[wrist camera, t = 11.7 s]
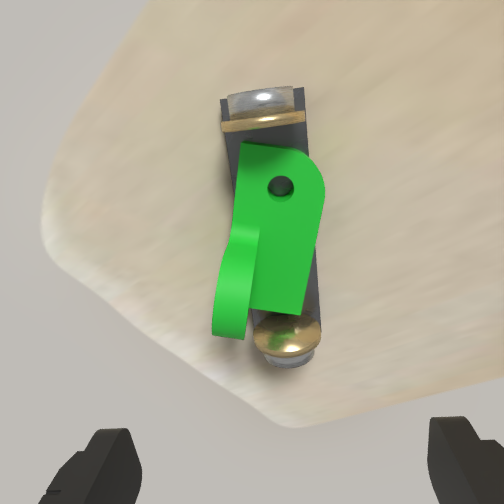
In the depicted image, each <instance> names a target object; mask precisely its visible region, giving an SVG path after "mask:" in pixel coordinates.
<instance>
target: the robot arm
mask: <svg viewBox="0 0 504 504" xmlns="http://www.w3.org/2000/svg"><path fill="white" fill-rule="evenodd" d="M427 462H428V470H429V475H430V479H431V483H432V486H433V489H434V491H435V493H436V496H437V499H438V501H439V503H440V504H504V448H503V447H502V446H501V445H500V444H499V443H498V442H497V441H495V440H480V439H479V437H478V435H477V434H476V432H475V430H474V429H473V427H472V425H471V424H470V422H469V421H468V420H467V419H466V418H465V417H464V416H459V417H458V416H457V417H433V418H431V419H430V426H429V442H428V457H427ZM141 481H142V468H141V464H140V461H139V458H138V455H137V452H136V449H135V446H134V443H133V440H132V438H131V435H130V432H129V430H128V429H126V428H118V429H100V430H98V431H96V432H95V434H94V435H93V437H92V438H91V440H90V442H89V444H88V446H87V447H86V449H85V451H77V452H76V454H74V455H73V456H72V457H71V458H70V459H69V460H68V461H67V462H66V463H65V464H64V465H63V466H62V467H61V468H60V469H59V471H58V473H57V474H56V476H55V477H54V479H53V481H52V482H51V484H50V485H49V487H48V489H47V490H46V494H45V495H43V497H42V498H41V500H40V502H39V503H38V504H135V502H136V499H137V496H138V494H139V491H140V487H141Z"/></svg>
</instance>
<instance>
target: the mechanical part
mask: <svg viewBox="0 0 504 504" xmlns="http://www.w3.org/2000/svg"><path fill="white" fill-rule="evenodd" d="M276 176H286V177H288V178H289V179H290V180H291V181H292V182H293V187H292V189H291V191H290V192H289V193H288V194H286V195H284V196H277V195H275V194H273V193H272V192H271V191H270V189H269V187H268V184H269V182H270V180H271V179H273V178H274V177H276ZM324 199H325V186H324V181H323V178H322V175H321V173H320V171H319V170H318V168H317V167H316V165H315V164H314V162H313V161H312V160H311V159H310V158H309V157H308V156H307V155H306V154H304V153H303V152H301V151H299V150H297V149H295V148H292V147H287V146H280V145H272V144H265V143H258V142H251V141H242V142H241V145H240V154H239V163H238V173H237V182H236V191H235V200H234V209H233V218H232V227H231V233H230V238H229V242H228V245H227V248H226V250H225V253H224V256H223V259H222V263H221V267H220V271H219V276H218V282H217V287H216V294H215V300H214V308H213V317H212V335H214V336H221V337H228V338H234V339H241V340H244V337H245V330H246V324H247V317H248V310H249V308H253V309H259V310H266V311H273V312H280V313H287V314H294V315H301V311H302V306H303V301H304V296H305V291H306V286H307V282H308V277H309V272H310V267H311V262H312V257H313V253H314V248H315V243H316V238H317V233H318V228H319V223H320V219H321V214H322V209H323V204H324Z"/></svg>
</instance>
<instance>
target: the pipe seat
mask: <svg viewBox="0 0 504 504" xmlns="http://www.w3.org/2000/svg"><path fill="white" fill-rule="evenodd" d="M220 104H221V110H222V117H223V122H221V127H222V132H225V137H226V143H227V150H228V157H229V163H230V170H231V176H232V183H233V190H234V196H235V191H236V182H237V173H238V163H239V154H240V145H241V142H242V141H251V142H258V143H265V144H272V145H280V146H287V147H292V148H295V149H297V150H299V151H301V152H303V153H304V154H306V155H307V156H308V157H309V152H308V138H307V124H306V110H305V96H304V87H302V88H295V89H293V86H285V87H275V88H266V89H259V90H253V91H247V92H241V93H236V94H232V95H228V96H227V99H220ZM268 187H269V189H270V191H271V192H272V193H273V194H275V195H277V196H284V195H286V194H288V193H289V192H290V191H291V189H292V187H293V182H292V181H291V180H290V179H289V178H288V177H286V176H276V177H274V178H273V179H271V180H270V182H269V184H268ZM251 309H252V316H253V322H254V332H253V336H254V342H255V345H256V347H257V348H258V349H259V350H260V351H261V352H262V353H264V357H265V359H266V360H267V361H268V362H269V363H270V364H272V365H274V366H276V367H280V368H295V367H299V366H302V365H304V364H306V363H307V362H309V361H310V360H311V359H312V357H313V355H314V348H316V347H317V345H318V344H319V342H320V340H321V320H320V306H319V292H318V278H317V264H316V250H315V248H314V253H313V257H312V262H311V267H310V272H309V277H308V282H307V286H306V291H305V296H304V301H303V306H302V311H301V315H294V314H287V313H280V312H273V311H266V310H259V309H253V308H251Z"/></svg>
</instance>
